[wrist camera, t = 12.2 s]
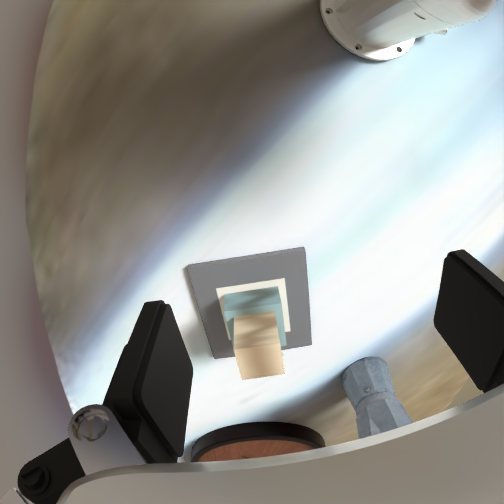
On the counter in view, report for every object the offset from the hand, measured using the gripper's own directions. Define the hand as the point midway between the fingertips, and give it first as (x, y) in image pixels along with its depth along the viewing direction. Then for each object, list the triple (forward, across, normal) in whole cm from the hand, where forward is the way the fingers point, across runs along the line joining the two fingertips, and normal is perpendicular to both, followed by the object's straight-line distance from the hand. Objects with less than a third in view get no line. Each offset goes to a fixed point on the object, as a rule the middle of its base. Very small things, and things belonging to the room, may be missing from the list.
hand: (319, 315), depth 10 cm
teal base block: (+27, +4, +19) cm, 33 cm away
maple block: (+23, +3, +19) cm, 30 cm away
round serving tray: (+29, +9, +63) cm, 70 cm away
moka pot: (+28, -14, +38) cm, 50 cm away
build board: (+28, +4, +19) cm, 34 cm away
